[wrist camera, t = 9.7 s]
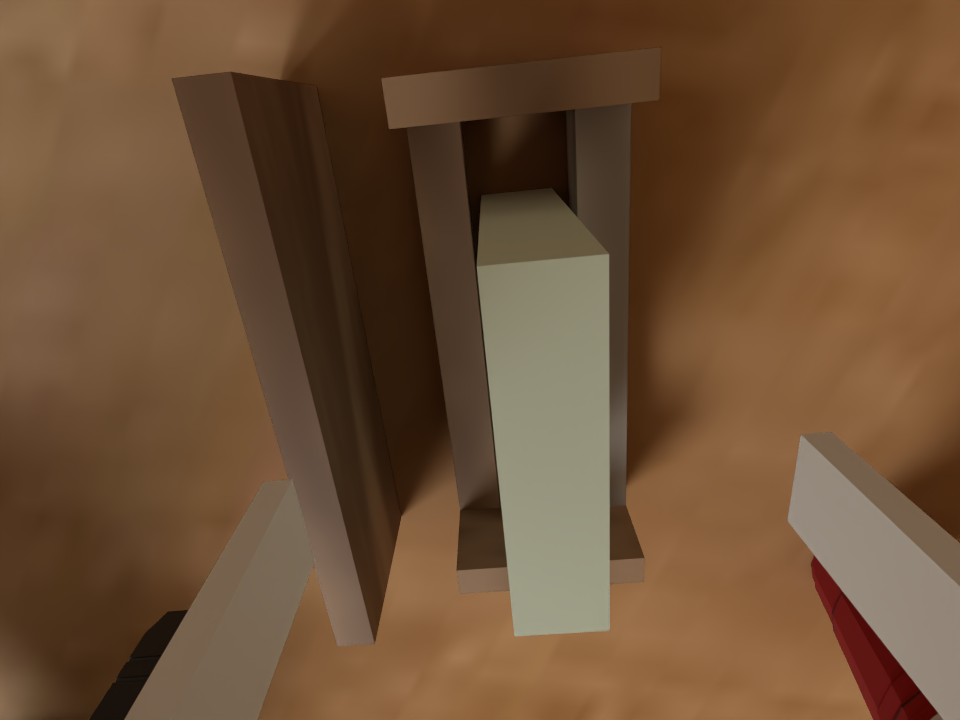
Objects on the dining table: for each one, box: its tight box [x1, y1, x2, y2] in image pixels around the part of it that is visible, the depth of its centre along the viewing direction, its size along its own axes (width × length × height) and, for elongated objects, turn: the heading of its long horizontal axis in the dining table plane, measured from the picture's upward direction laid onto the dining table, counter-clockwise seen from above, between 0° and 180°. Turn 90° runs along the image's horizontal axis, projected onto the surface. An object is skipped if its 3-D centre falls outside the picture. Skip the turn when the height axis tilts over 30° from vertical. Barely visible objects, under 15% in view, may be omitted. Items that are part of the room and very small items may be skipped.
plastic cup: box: [811, 556, 943, 720], centre depth 26 cm, size 11×11×12 cm
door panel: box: [477, 188, 610, 636], centre depth 20 cm, size 3×12×12 cm, turn 6°
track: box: [172, 47, 661, 646], centre depth 22 cm, size 13×22×8 cm, turn 6°
